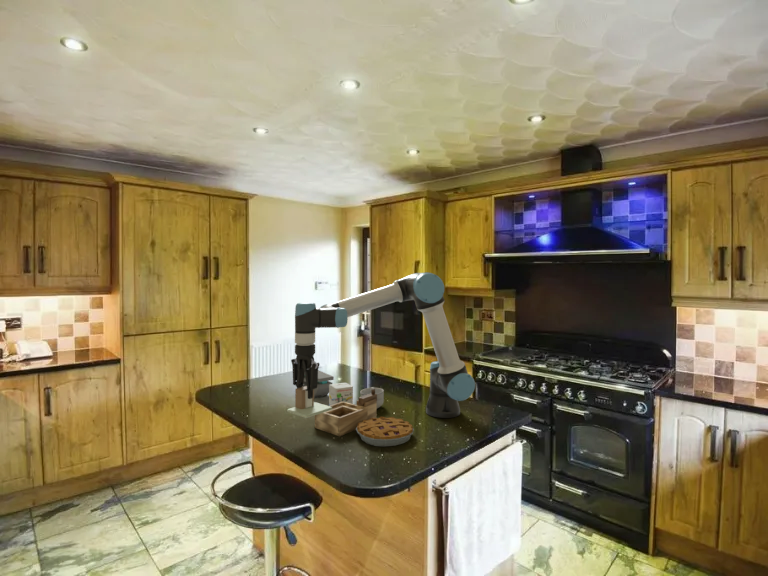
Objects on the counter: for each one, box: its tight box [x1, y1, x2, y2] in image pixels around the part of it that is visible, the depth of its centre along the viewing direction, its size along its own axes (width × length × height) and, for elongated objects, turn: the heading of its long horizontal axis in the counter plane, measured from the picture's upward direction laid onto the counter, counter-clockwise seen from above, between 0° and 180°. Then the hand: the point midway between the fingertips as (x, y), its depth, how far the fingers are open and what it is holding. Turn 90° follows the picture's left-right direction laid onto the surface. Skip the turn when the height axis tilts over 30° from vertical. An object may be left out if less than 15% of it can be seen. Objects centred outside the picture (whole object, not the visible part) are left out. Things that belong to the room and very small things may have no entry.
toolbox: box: [314, 399, 378, 437], centre depth 173 cm, size 14×23×9 cm, turn 142°
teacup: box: [359, 386, 385, 409], centre depth 197 cm, size 14×11×8 cm
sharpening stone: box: [302, 369, 335, 398], centre depth 217 cm, size 25×8×11 cm, turn 35°
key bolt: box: [358, 389, 377, 406], centre depth 178 cm, size 2×9×5 cm, turn 142°
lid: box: [286, 386, 332, 419], centre depth 157 cm, size 11×13×8 cm
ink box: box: [328, 382, 354, 406], centre depth 190 cm, size 8×8×12 cm
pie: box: [355, 416, 415, 447], centre depth 160 cm, size 22×22×5 cm
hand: (304, 405), depth 159 cm, fingers closed on lid, 3 cm apart
